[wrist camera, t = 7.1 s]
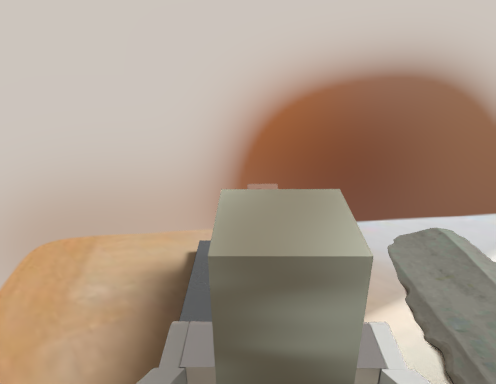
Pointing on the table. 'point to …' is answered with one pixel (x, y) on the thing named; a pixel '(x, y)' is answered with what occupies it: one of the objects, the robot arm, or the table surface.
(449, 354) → the stone slab
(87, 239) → the table surface
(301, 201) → the brown t-shaped piece
